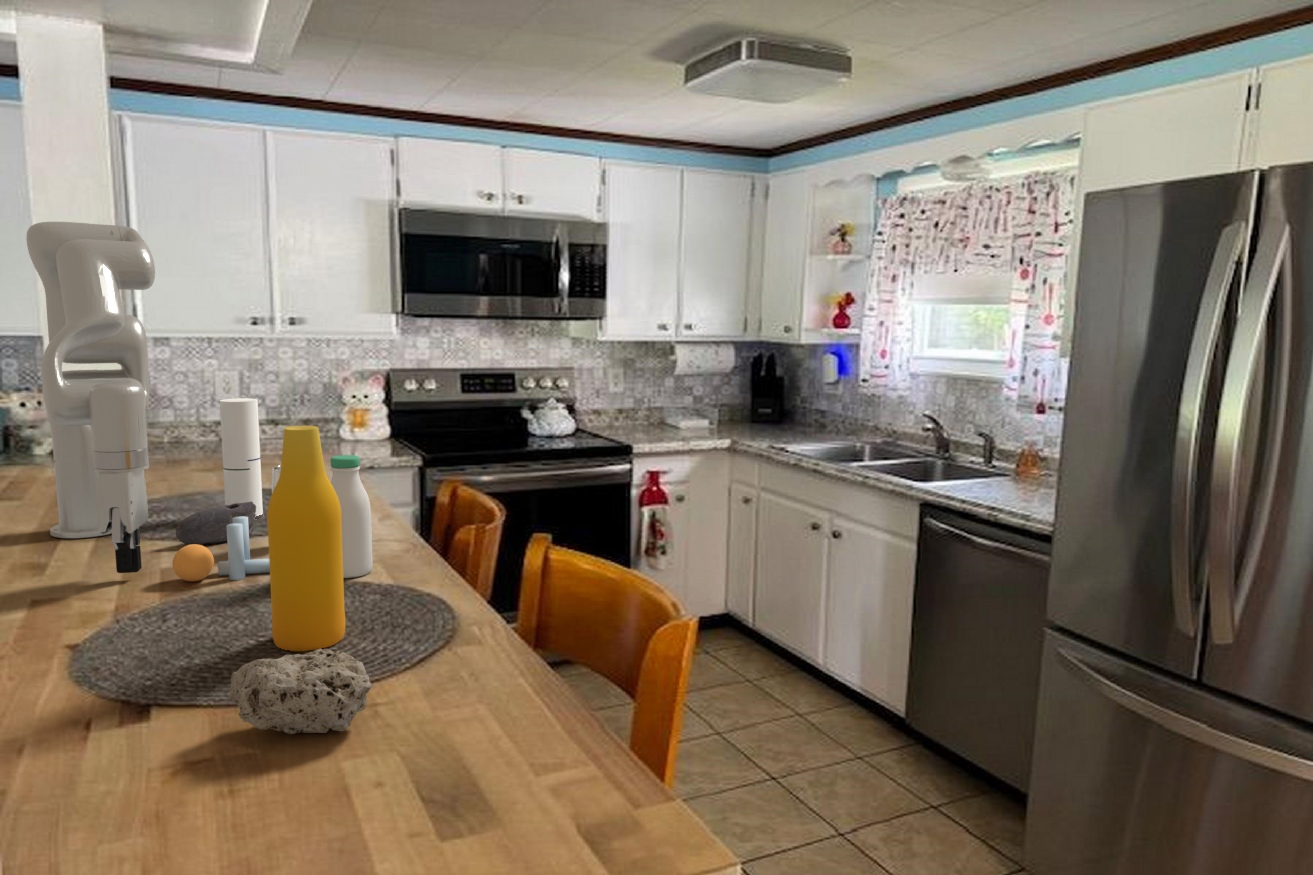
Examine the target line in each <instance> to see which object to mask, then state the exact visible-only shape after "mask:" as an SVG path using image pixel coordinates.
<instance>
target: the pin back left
mask: <svg viewBox="0 0 1313 875" xmlns="http://www.w3.org/2000/svg"><path fill="white" fill-rule="evenodd" d="M226 543H227V561H228V564H229V575H228V577H229V578H228V579H229V580H231V581H240V580H244V579H246V574H245V561H244V541H243V524H241V523H233V524H228V525H227V542H226Z"/></svg>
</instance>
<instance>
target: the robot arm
mask: <svg viewBox="0 0 1313 875" xmlns="http://www.w3.org/2000/svg"><path fill="white" fill-rule="evenodd" d="M25 240H26V246H27V251H28V254H29V257H30V261H31V262H32V265H33V266H34V269H35V270H36V273H37V275H38V277H39V278H40V280H41V282H42V285H43V289H44V294H45V304H46V305H45V306H46V307H45V308H46V318H47V333H48V334H47V335H48V344H47V346H46V347H45V350H44V353H43V356H42V360H41V370H40V372H41V381H42V396H43V401H44V405H45V409H46V414H47V416H48V422H49V427H50V432H51V433H50V434H51V439H52V440H51V441H52V442H51V443H52V454H53V464H54V476H55V477H54V478H55V485H56V487H55V489H56V499H57V511H58V513H57V514H58V524H56V525H54V526H52V527H51V528H50V529H49V533H50V536H52V537H54V538H60V539H86V538H94V537H101V536H108V535H111V543H112V544H113V546H114V553H115V566H116V568H115V569H116V573H118V574H126V573H127V574H132V573H138V572H139V571H141V569H142V554H141V553H142V552H141V545H140V544H141V535H140V534H141V526H142V525H143V524H144V523H145V522H146V521H147V520H148V515H149V514H148V513H149V511H148V510H149V509H148V508H149V506H148V494H147V493H148V492H147V484H146V475H145V471H144V470H148V469H149V468H150V462H149V461H150V460H149V459H150V458H149V447H148V446H149V443H148V429H147V415H146V413H147V412H148V409H149V405H150V396H151V395H150V377H149V355H148V353H149V352H148V341H147V340H148V339H147V334H146V330H145V327H144V325H143V322H142V321H141V320H140V319H139V318H138V317H137V316H134V315H131V314H126V313H124V309H123V305H122V299H121V292H120V290H128V291H131V290H132V291H133V290H134V291H144V290H148V289H150V288H151V287H152V286H153V284H154V282H155V278H156V266H155V261H154V258H153V254H152V252H151V250H150V248H149V246H148V245H147V243H146V242H145V239H143V238H142V236H141V234H139V232H138V231H137V230H136V229H135V228H133V227H130V226H125V225H114V224H98V223H97V224H96V223H86V222H73V221H72V222H71V221H42V222H37V223H34V224H32V225H30V226H29V227H28V229H27V232H26V239H25ZM64 363H65V364H73V365H74V364H75V365H78V364H79V365H81V364H83V365H84V364H85V365H86V364H89V365H90V364H93V365H94V364H117V365H120V367H121V368H120V369H119V368H118V369H72V370H71V369H70V370H64V371H63V367H62V366H63V364H64Z"/></svg>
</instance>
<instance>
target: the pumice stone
mask: <svg viewBox="0 0 1313 875" xmlns="http://www.w3.org/2000/svg"><path fill="white" fill-rule="evenodd" d="M372 684H373V683H371V681H370V677H369V675H368V673H367V670H366V668H365V665H364V664H363V662H362V661H359V660H358V659H356V658H355V657H353V656H352V655H351V654H347V653H345V652H344V651H339V650H336V651H335V652H334V651H333V650H331V649H329V648H323V649H318V650H313V651H308V652H307V653H303V654H299V653H297V654H285V655H283V656H282V657H279V658H270V657H269V658H261V659H259V658H258V659H255V660H252V661H250V662H248V663H244V664H242V665H241V666H240V668H239V669H237V671H235V672H232V673H231V678H230V689H229V696H228V697H229V699H228V700H229V701H230V700H231V702H232V703H233V704H236V705H237V706H238V707H239V711H238V712H239V713H238V717H239V718H240V719H241V721H243V722H244V723H248V724H250V725H252V726H254V728H255V729H260V730H265V731H266V730H268V729H270V730H274V731H278V732H281V731H282V732H284V733H285V734H289V735H295V734H298V733H300V734H301V733H303V734H315V733H318V734H319V733H321V734H322V733H323V734H326V733H327V732H328V731H329V730H330V729H331V730H332V731H339V732H343V731H346V730H347V729H348V728H349V727H350V726H351V724H352V721H353V720H354V718H355V716H356V715H357V713H359V712H361V711H364V710H365V709H366V707H367V704H368V702H369V701H368V693H369V692H370V691H371V689H373V685H372Z"/></svg>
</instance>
